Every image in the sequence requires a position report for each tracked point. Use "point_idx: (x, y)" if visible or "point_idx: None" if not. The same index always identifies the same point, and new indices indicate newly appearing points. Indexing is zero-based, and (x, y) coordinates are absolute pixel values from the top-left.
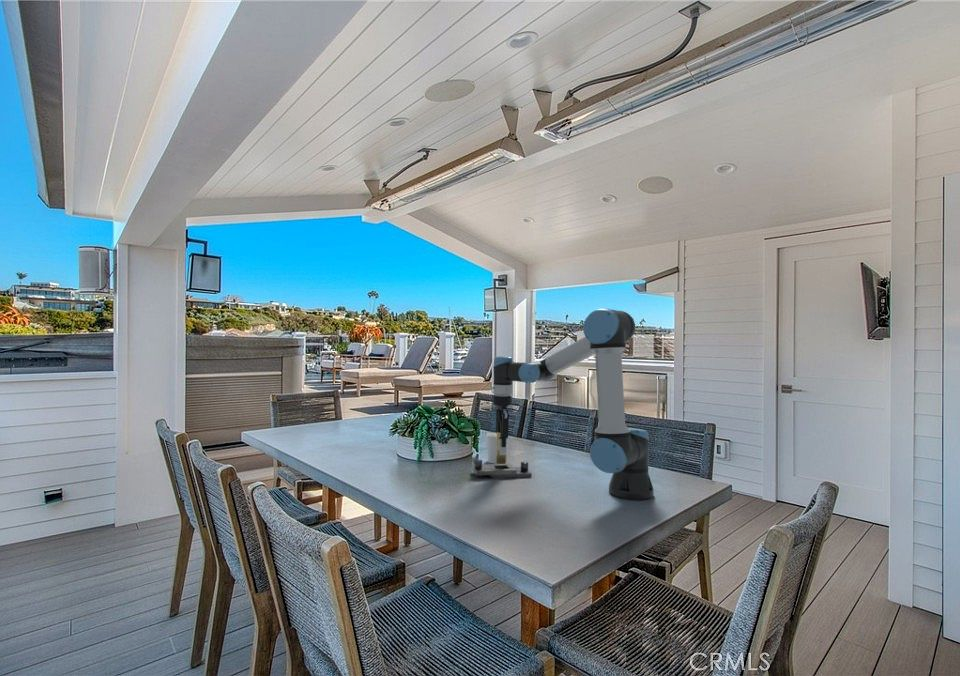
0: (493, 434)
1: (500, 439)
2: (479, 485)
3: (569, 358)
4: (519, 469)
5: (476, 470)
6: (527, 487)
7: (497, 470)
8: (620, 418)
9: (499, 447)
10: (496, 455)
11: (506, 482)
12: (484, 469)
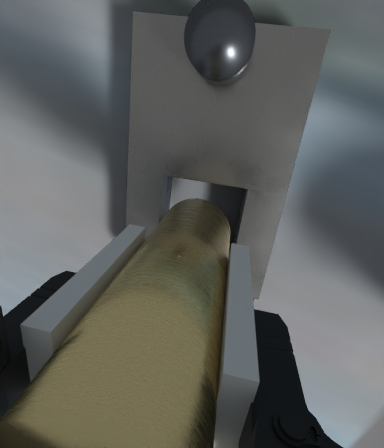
0: None
1: (32, 321)
2: (37, 12)
3: None
4: None
5: (162, 17)
6: (5, 233)
7: (134, 170)
8: None
9: (117, 256)
10: (196, 215)
11: (76, 180)
12: (175, 92)
